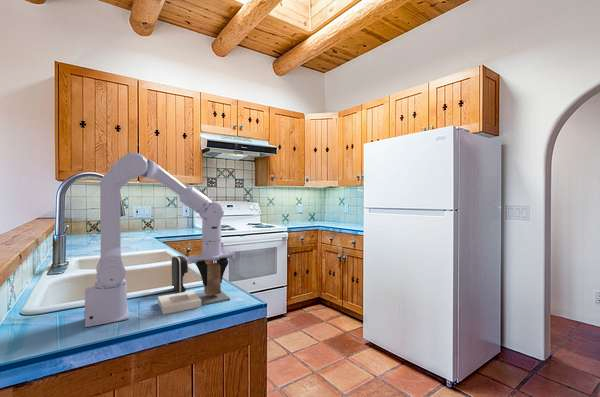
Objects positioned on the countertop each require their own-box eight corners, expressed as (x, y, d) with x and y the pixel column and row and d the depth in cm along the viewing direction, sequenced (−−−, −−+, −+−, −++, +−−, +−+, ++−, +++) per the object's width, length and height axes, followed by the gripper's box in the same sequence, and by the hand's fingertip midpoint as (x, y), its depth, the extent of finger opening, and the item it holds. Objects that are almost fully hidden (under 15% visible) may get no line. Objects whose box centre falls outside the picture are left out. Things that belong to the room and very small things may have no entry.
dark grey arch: (189, 291, 103) (188, 257, 102) (177, 293, 100) (177, 258, 100) (182, 286, 108) (182, 254, 108) (171, 288, 106) (171, 255, 106)
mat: (203, 305, 90) (203, 303, 90) (195, 295, 98) (195, 294, 98) (230, 299, 94) (230, 298, 94) (220, 291, 102) (220, 289, 102)
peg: (207, 295, 93) (207, 266, 93) (204, 292, 97) (203, 264, 96) (220, 293, 95) (220, 264, 95) (216, 290, 99) (216, 262, 99)
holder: (163, 314, 83) (162, 307, 83) (158, 303, 92) (158, 296, 92) (201, 306, 88) (201, 300, 88) (193, 296, 97) (193, 290, 97)
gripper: (190, 244, 89) (191, 291, 89) (238, 240, 96) (238, 283, 96) (185, 241, 95) (186, 285, 95) (230, 237, 102) (231, 277, 102)
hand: (212, 283), depth 96 cm, fingers closed on peg, 4 cm apart
